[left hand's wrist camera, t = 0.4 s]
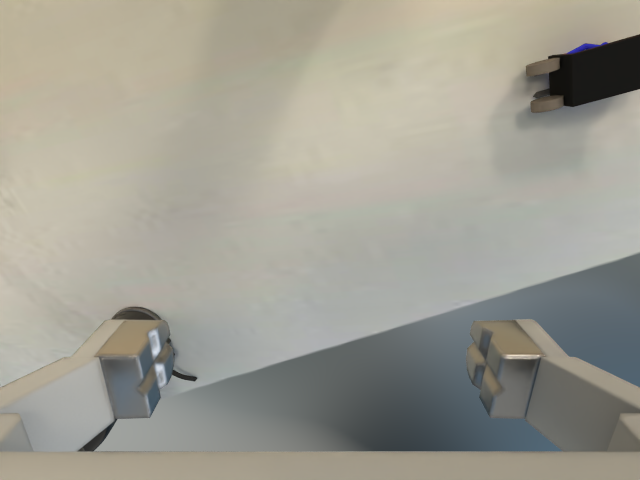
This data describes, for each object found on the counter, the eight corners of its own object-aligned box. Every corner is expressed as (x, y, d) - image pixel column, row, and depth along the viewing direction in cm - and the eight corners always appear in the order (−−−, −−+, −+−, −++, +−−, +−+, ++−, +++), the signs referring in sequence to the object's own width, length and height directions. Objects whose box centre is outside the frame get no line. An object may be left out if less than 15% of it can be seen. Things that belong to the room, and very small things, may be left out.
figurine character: (518, 114, 54) (638, 80, 51) (540, 120, 47) (681, 81, 44) (512, 64, 52) (638, 25, 49) (535, 62, 45) (683, 17, 42)
